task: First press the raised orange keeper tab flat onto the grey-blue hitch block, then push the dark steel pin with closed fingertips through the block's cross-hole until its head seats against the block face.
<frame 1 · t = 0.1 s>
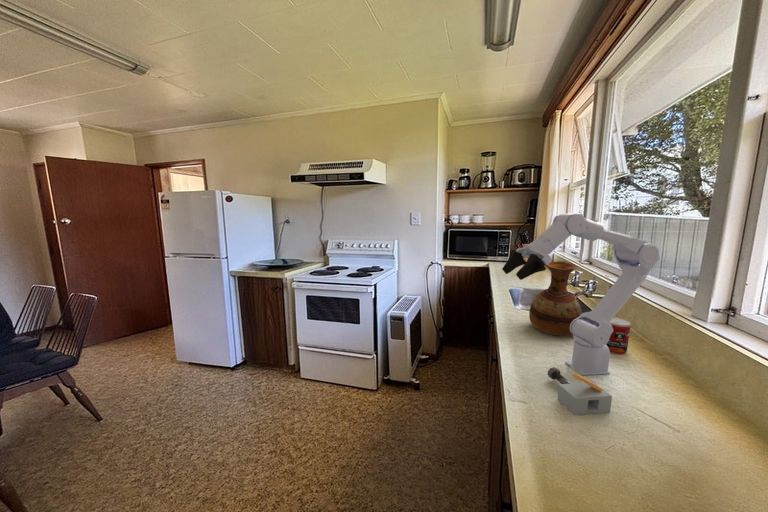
hand: (511, 274, 87), 32 cm above the worktop, tool tilted 50°, fingers open, 7 cm apart
keeper tab: (586, 381, 76), point 7 cm above the worktop, hinge at 30.0°, touching hitch block
canned food: (613, 349, 108), on the worktop
hitch block: (582, 405, 77), on the worktop
brown clay vase: (553, 330, 126), on the worktop
pin: (566, 383, 83), point 2 cm above the worktop, slide at 0.0 cm
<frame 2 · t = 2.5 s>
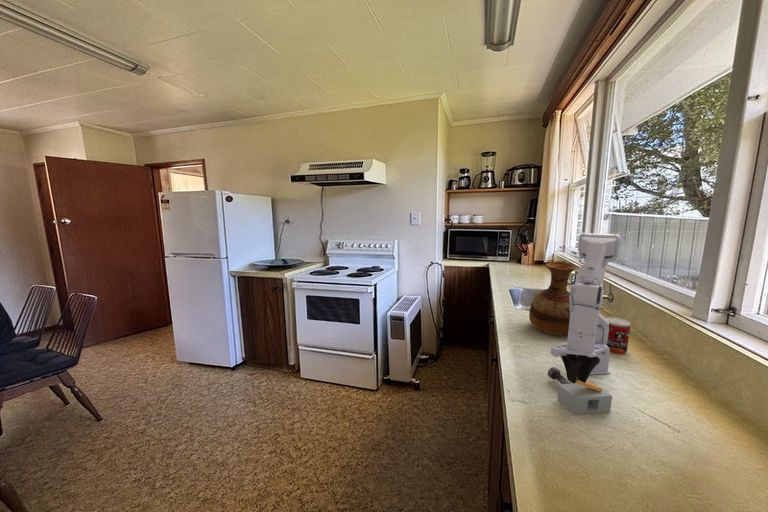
hand: (576, 381, 75), 7 cm above the worktop, tool pointing down, fingers closed on keeper tab, 2 cm apart
keeper tab: (584, 383, 76), point 7 cm above the worktop, hinge at 22.1°, touching gripper, hitch block
everything else where it was.
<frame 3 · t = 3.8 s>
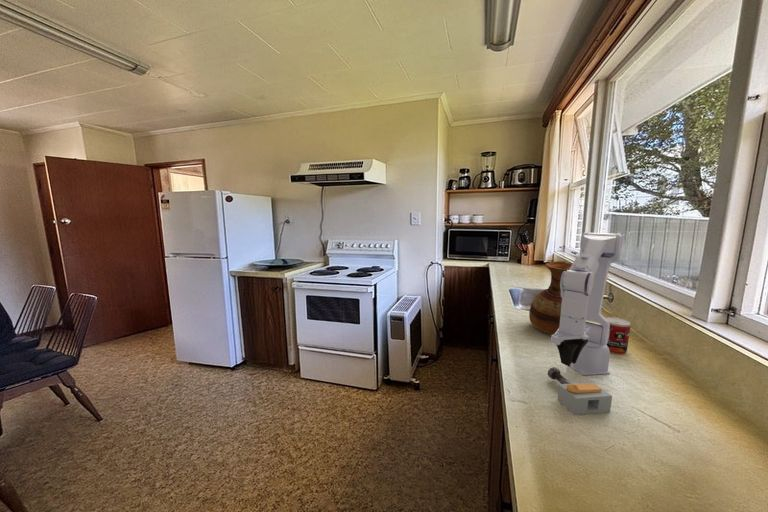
hand: (568, 363, 80), 10 cm above the worktop, tool pointing down, fingers closed
keeper tab: (582, 388, 76), point 5 cm above the worktop, hinge at 1.9°, touching hitch block
everything else where it was.
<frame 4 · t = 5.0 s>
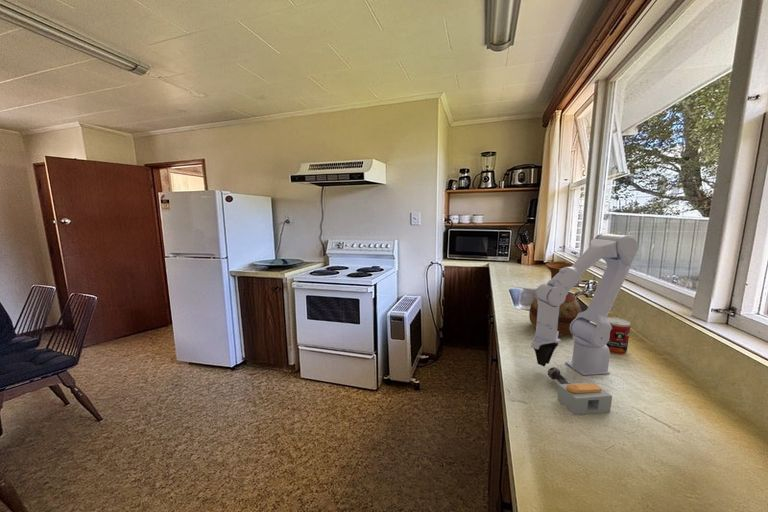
hand: (543, 363, 93), 3 cm above the worktop, tool pointing down, fingers closed
nothing on the worktop moved.
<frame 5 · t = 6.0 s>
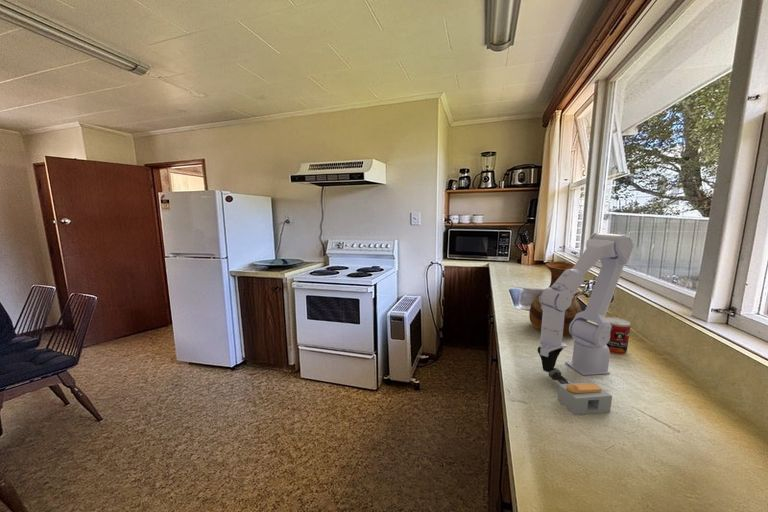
hand: (548, 369, 90), 2 cm above the worktop, tool pointing down, fingers closed
pin: (566, 383, 83), point 2 cm above the worktop, slide at 0.4 cm, touching gripper
everything else where it was.
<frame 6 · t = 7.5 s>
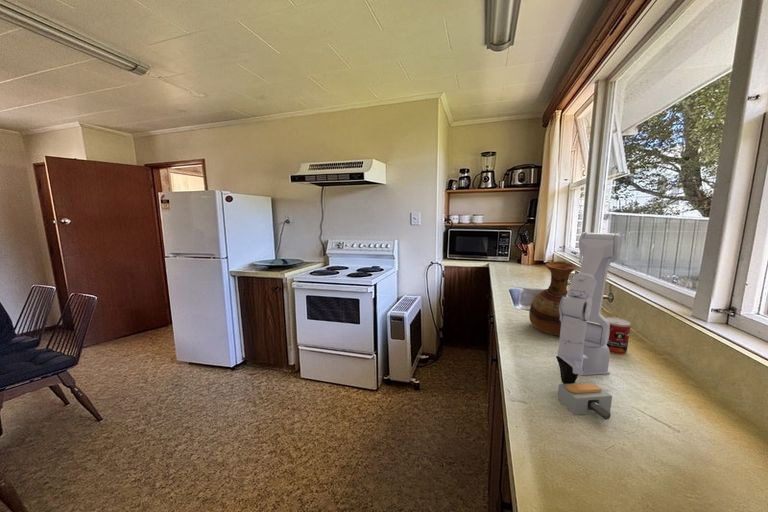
hand: (566, 384, 83), 2 cm above the worktop, tool pointing down, fingers closed
pin: (588, 401, 75), point 2 cm above the worktop, slide at 8.0 cm, touching gripper, hitch block
everything else where it was.
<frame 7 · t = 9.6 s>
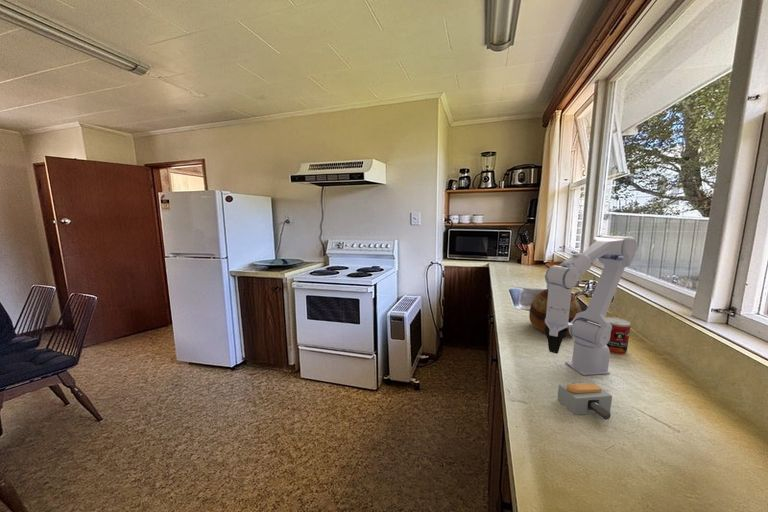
hand: (554, 350, 87), 9 cm above the worktop, tool pointing down, fingers closed
pin: (588, 401, 75), point 2 cm above the worktop, slide at 8.0 cm, touching hitch block
everything else where it was.
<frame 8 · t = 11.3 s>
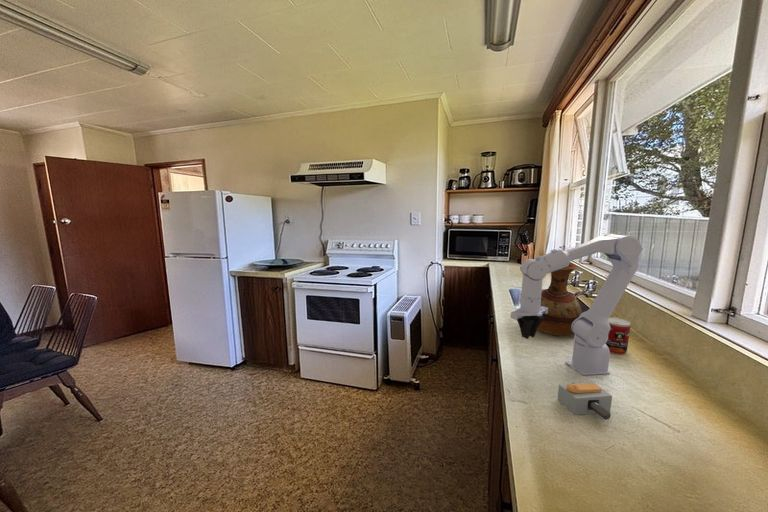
hand: (527, 336, 96), 10 cm above the worktop, tool pointing down, fingers closed
nothing on the worktop moved.
at the end: pin slide at 8.0 cm; keeper tab at +2° (first picture: +30°) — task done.
